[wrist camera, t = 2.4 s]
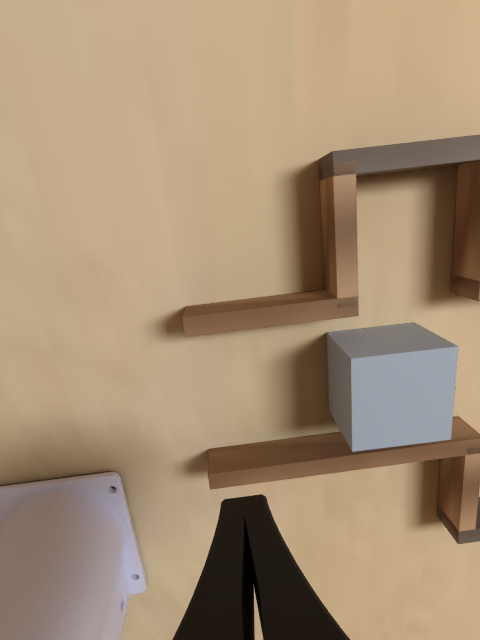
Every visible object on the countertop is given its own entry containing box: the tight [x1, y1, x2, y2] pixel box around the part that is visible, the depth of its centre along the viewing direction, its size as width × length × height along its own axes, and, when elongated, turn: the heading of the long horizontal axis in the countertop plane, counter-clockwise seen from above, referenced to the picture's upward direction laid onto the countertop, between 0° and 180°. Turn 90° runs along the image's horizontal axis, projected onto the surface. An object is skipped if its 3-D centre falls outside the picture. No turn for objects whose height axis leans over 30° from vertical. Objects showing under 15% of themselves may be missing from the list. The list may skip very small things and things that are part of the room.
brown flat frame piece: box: [182, 135, 480, 544], centre depth 20 cm, size 23×26×2 cm
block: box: [327, 322, 458, 452], centre depth 19 cm, size 5×5×4 cm
